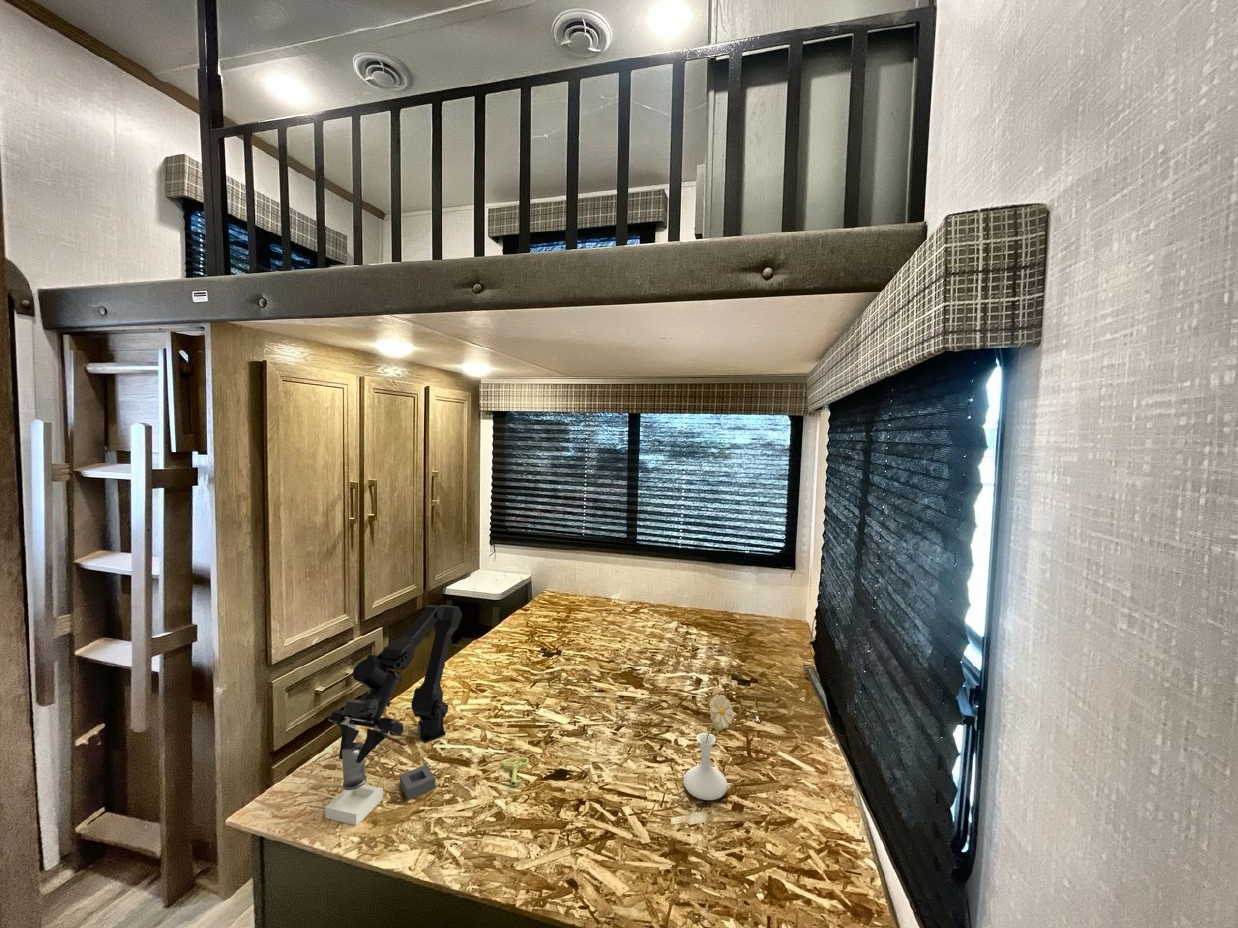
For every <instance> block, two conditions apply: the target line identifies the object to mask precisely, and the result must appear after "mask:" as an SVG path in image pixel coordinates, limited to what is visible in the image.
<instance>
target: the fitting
mask: <svg viewBox="0 0 1238 928" xmlns="http://www.w3.org/2000/svg"><path fill="white" fill-rule="evenodd" d="M363 744H364V742H361V741H354V742H353V743H351V744H348V745H347V746H345V747H344V748H343V749H342V762H341V763H342V789H344V790H354V789H357V788H359V787H361V786H362V785H364V784H365V785H366V782H367V775H366V766H365V765H366V761H365V760H366V757H365V758H364V759H363V760H362V761H361V763H357V759H358V756H359V753H360V751H361V749H362V747H363Z"/></svg>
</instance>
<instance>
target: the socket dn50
mask: <svg viewBox="0 0 1238 928" xmlns="http://www.w3.org/2000/svg"><path fill="white" fill-rule="evenodd" d="M383 790H384V788H382V787H379V786H373V785H369V784H366V783H365V784H364V785H362V786H361V787H359V788H357V789H354V790H345V789H344V790H342V792H341V793H339V794H338V795H337V796H336V797H335V798H334V799H333V800H332V801H330V802H329V803H328V804H327V805H326V806H324V811H325V812H324V814H325V819H327V820H330V821H336V822H340V823H344V824H349V825H353V826H358V825H359V824H360V823H361V822H362V821H363V820H364V819H365V818H366V816H368V815H369V814H370V813H371V812H372V810H374V809H375V808H376V807H377V806H378V805H379V803H381V801H382V800H383V799H384V791H383Z"/></svg>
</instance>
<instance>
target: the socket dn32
mask: <svg viewBox="0 0 1238 928" xmlns="http://www.w3.org/2000/svg"><path fill="white" fill-rule="evenodd" d="M436 784H437V783H436V777H435V775H434V774H433V772H432V771H431V769H430V767H429V766H428V764H424V765H422V766H420V767H416V768H415V769H414V768H413V769H412V770H409V771H407V772H404V773H401V774H399V786H400V788H401V791H402V792H403V794H404V796H405V798H406V799H407V801H410V800H413V799H415V798H417V797H419V796H422V795H423V794H427V793H429V792H430V791H433V790H435V789H436V787H437V786H436Z"/></svg>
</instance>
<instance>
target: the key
mask: <svg viewBox="0 0 1238 928" xmlns="http://www.w3.org/2000/svg"><path fill="white" fill-rule="evenodd" d="M516 761H523V762H522V763H519V764H507V763H510V762H516ZM529 764H530V761H529V758H528V757H523V756H519V757H517V756H515V757H510V758H506V759H505V760H503V761H502V764H501V765H502V768H503V769H505V770H510V771H511V773H512V774H511V780H510V781H511V782H510V785H511V786H512V787H514V786H516V785H519V784H522V779H517V775H518V772H519V770H520V769H524V768H526V767H527V766H528V765H529Z"/></svg>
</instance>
